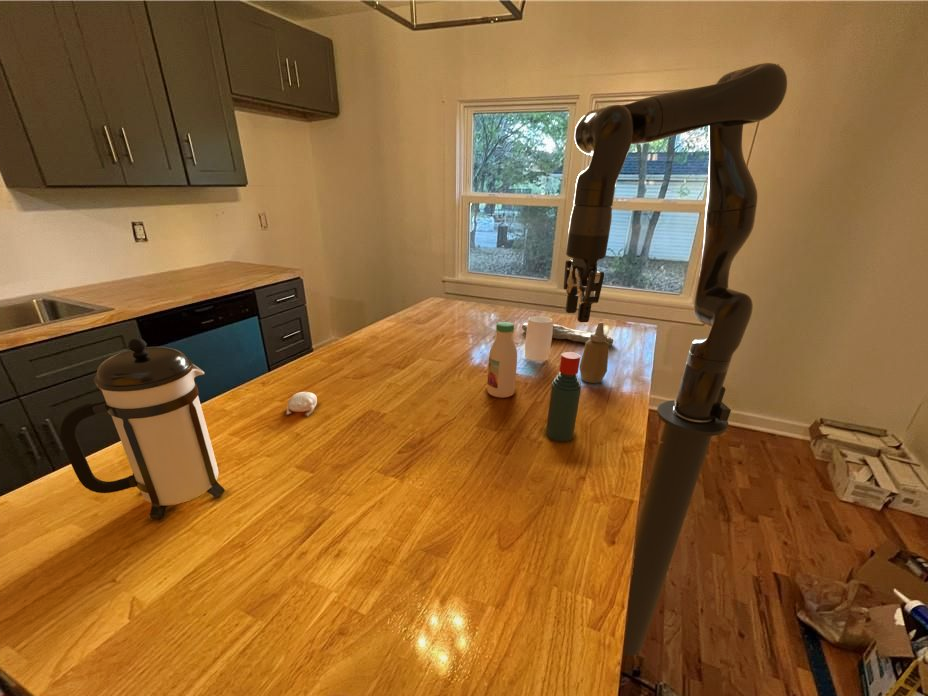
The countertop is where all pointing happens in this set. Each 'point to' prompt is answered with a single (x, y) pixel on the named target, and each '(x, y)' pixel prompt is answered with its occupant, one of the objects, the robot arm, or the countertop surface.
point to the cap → (569, 363)
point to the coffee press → (151, 427)
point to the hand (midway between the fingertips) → (576, 316)
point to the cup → (538, 338)
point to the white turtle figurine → (302, 402)
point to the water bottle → (563, 407)
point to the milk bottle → (502, 362)
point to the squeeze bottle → (595, 356)
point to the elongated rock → (570, 334)
